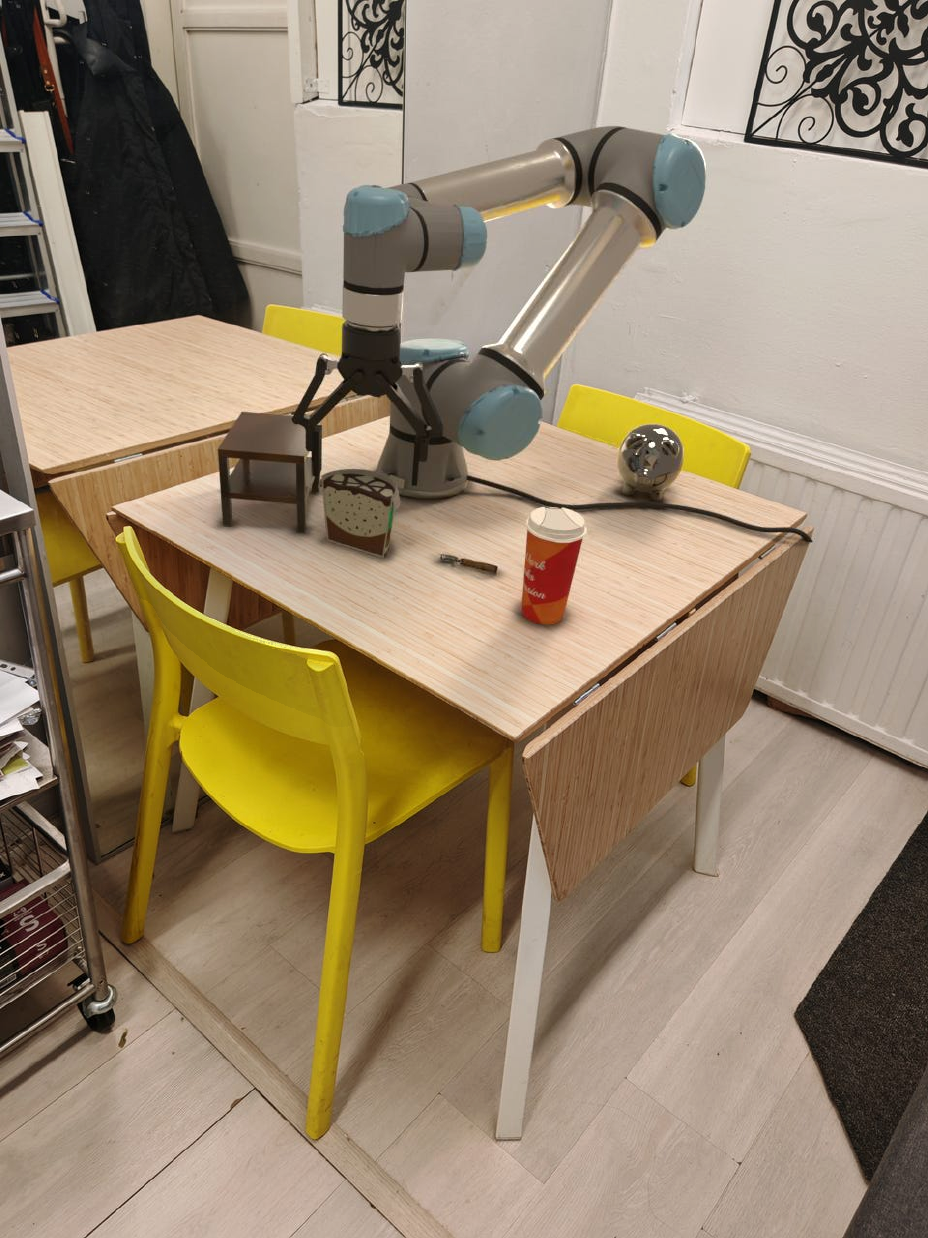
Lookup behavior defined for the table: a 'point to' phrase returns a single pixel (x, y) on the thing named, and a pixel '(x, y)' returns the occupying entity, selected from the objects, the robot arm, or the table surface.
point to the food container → (359, 509)
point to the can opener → (471, 563)
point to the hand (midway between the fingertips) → (366, 477)
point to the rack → (266, 464)
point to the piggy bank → (650, 459)
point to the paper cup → (550, 562)
